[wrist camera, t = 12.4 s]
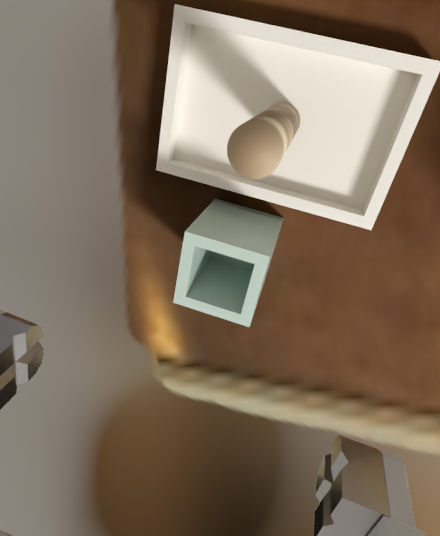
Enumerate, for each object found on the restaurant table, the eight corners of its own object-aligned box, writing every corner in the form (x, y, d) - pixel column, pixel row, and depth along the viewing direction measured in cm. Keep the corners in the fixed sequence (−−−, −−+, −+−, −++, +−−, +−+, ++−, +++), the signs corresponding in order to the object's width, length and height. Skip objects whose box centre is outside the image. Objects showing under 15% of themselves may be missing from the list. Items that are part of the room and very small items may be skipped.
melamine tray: (435, 62, 29) (443, 62, 27) (369, 220, 35) (371, 230, 33) (185, 8, 31) (174, 4, 29) (166, 164, 38) (156, 170, 36)
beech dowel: (304, 107, 32) (289, 128, 20) (294, 143, 33) (273, 185, 21) (269, 98, 32) (233, 114, 20) (260, 135, 34) (222, 171, 22)
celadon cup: (283, 217, 37) (270, 256, 30) (265, 278, 41) (249, 327, 33) (215, 198, 38) (184, 231, 30) (203, 259, 42) (173, 302, 34)
